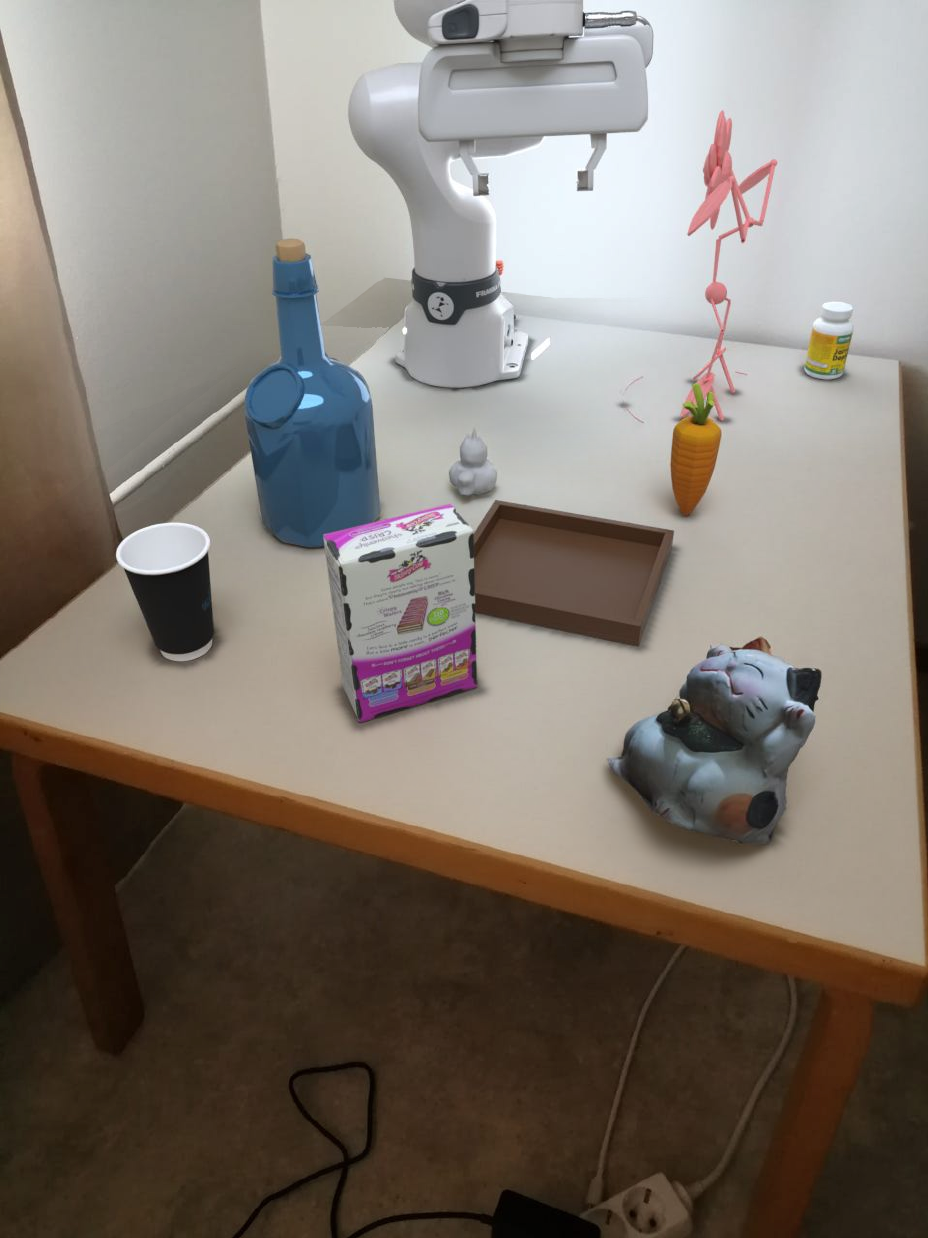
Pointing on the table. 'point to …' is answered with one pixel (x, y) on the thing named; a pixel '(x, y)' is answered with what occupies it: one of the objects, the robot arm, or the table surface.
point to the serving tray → (568, 570)
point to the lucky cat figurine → (724, 744)
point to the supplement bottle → (830, 341)
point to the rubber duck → (473, 467)
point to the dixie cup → (172, 586)
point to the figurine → (723, 235)
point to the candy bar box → (404, 609)
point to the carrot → (694, 452)
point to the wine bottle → (309, 421)
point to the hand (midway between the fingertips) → (532, 192)
